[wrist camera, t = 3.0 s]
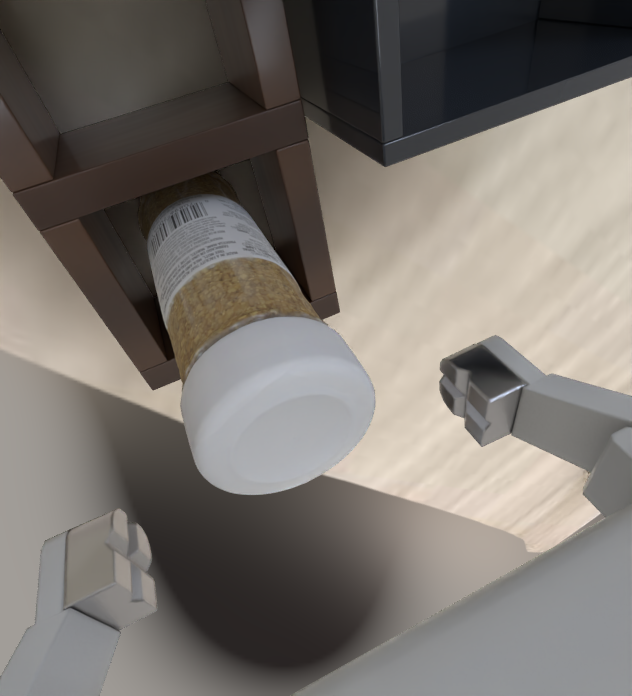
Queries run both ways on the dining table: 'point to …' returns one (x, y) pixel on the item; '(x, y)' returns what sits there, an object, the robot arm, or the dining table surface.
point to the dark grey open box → (448, 65)
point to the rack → (170, 173)
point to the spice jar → (248, 346)
